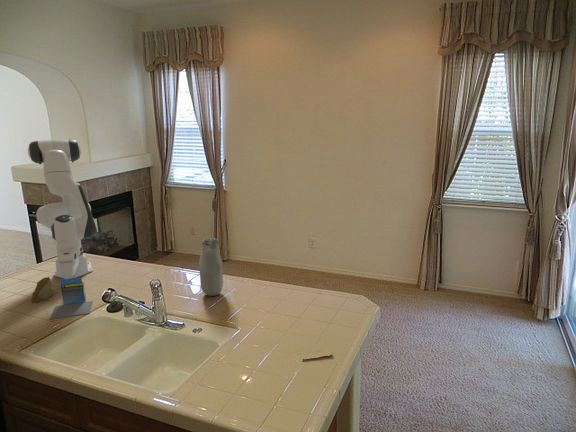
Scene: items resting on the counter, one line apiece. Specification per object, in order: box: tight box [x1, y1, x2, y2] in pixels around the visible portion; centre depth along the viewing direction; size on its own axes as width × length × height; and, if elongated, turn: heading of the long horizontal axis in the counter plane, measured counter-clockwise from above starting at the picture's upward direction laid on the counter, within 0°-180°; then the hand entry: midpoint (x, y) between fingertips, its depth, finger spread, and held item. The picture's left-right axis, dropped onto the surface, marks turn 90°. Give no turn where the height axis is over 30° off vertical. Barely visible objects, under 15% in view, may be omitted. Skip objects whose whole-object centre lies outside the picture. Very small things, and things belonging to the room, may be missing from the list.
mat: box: [49, 300, 94, 320], centre depth 178 cm, size 12×15×1 cm
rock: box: [30, 276, 54, 303], centre depth 189 cm, size 11×9×10 cm
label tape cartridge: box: [59, 276, 87, 305], centre depth 184 cm, size 9×4×12 cm, turn 108°
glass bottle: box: [198, 236, 224, 297], centre depth 189 cm, size 10×10×28 cm
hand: (73, 281), depth 185 cm, fingers closed
